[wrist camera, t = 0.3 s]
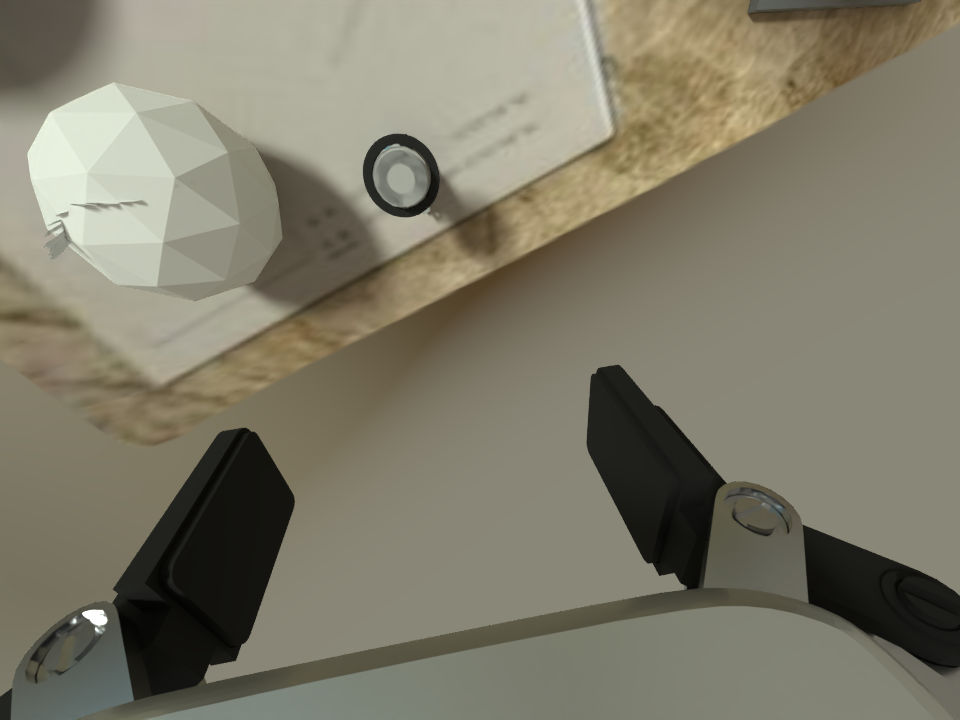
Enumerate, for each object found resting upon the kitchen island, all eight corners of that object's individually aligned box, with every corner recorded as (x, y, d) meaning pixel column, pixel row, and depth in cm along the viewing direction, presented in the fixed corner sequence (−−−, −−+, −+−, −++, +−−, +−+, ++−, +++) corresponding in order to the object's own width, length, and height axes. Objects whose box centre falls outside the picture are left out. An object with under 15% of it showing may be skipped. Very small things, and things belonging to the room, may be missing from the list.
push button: (451, 198, 36) (459, 219, 27) (401, 221, 36) (395, 248, 28) (419, 122, 32) (418, 119, 24) (365, 149, 33) (345, 155, 24)
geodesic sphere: (167, 341, 33) (159, 360, 22) (-22, 194, 26) (-175, 113, 15) (298, 244, 39) (344, 221, 28) (173, 101, 32) (168, -8, 20)
